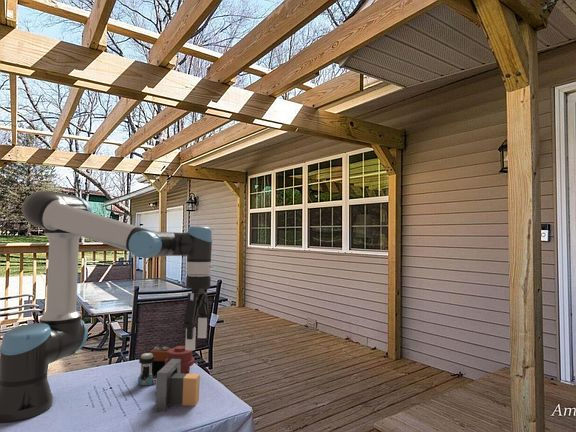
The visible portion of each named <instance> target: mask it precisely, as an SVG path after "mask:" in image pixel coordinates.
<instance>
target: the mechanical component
mask: <svg viewBox="0 0 576 432" xmlns="http://www.w3.org/2000/svg"><path fill="white" fill-rule="evenodd" d="M171 359H181V372H180V373H184V374H190V370H191V368H190V367H192V366H193V365H194V364H195V357H194V356H193V350H185V345H177V346H174V347H173V348H170V350H168V358H167V359H166V360H165V365H166V364H167V363H168V362H169V361H170V360H171Z"/></svg>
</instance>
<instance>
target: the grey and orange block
mask: <svg viewBox="0 0 576 432" xmlns="http://www.w3.org/2000/svg"><path fill="white" fill-rule="evenodd" d="M200 378H201V375H200V373H189V374H184V373H172V374H171V385H170V406H192V407H193V406H194V407H195V406H197V404H198V402H199V401H200V400H199V399H200V380H201V379H200Z"/></svg>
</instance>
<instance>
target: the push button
mask: <svg viewBox="0 0 576 432" xmlns="http://www.w3.org/2000/svg"><path fill="white" fill-rule="evenodd" d="M154 359H155V356H153V355H152V353H150V352H145V353H142V354H141V355H140V356H139V357H138V361H139V364H140V374H139V376H138V378H137V385H139V386H141V385H142V386H151V385H152V384H155V383H156V384H157V378H155V376H154V375H152V362H154Z"/></svg>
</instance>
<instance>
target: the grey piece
mask: <svg viewBox="0 0 576 432" xmlns="http://www.w3.org/2000/svg"><path fill="white" fill-rule="evenodd" d="M180 372H181V359H171V360H170V361H169V362H168V363H167V364H166V365H165V366H164V367H163V368H162V369H161V370H160V371H158V372H157V376H156V379H157V380H156V382H157V383H156V386H155V387H156V388H155V389H156V390H155V391H156V392H155V408H154V409H155V412H163V413H165V412H167V411H168V409H169V408H170V406H171V405H170V385H171V374H172V373H180Z"/></svg>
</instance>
